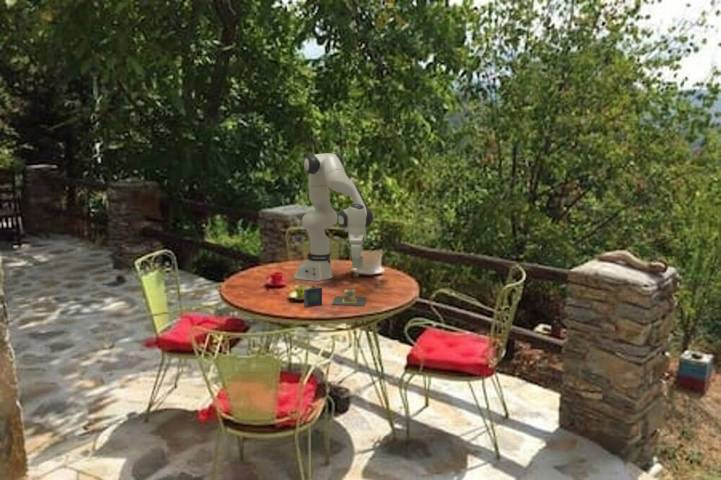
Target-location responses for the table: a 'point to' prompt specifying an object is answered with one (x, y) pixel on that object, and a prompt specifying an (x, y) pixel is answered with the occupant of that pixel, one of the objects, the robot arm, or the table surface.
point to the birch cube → (349, 295)
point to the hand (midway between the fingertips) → (357, 264)
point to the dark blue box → (313, 296)
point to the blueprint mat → (358, 302)
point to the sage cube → (359, 263)
